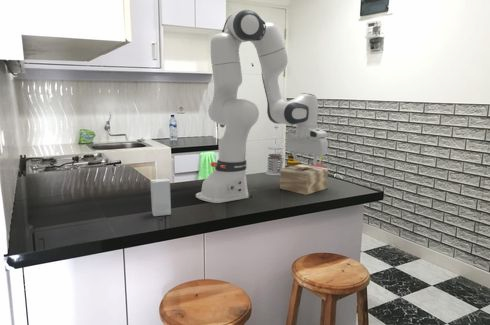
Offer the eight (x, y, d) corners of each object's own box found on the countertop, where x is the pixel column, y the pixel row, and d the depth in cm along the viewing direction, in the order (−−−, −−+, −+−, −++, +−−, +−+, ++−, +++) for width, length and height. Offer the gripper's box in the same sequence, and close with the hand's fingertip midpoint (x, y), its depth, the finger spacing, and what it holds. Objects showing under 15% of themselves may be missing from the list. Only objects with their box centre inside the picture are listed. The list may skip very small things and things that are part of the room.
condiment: (290, 181, 177) (291, 156, 175) (280, 177, 185) (281, 154, 182) (302, 180, 181) (304, 155, 178) (292, 176, 188) (293, 153, 186)
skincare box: (168, 211, 130) (168, 177, 127) (171, 215, 126) (170, 180, 123) (151, 213, 127) (150, 179, 125) (153, 217, 123) (152, 182, 121)
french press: (277, 170, 201) (279, 124, 196) (289, 175, 191) (291, 126, 186) (261, 172, 197) (263, 125, 192) (273, 176, 186) (274, 127, 182)
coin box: (305, 194, 154) (307, 173, 152) (279, 188, 164) (280, 168, 162) (326, 188, 165) (328, 168, 164) (301, 182, 175) (302, 164, 173)
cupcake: (320, 174, 193) (321, 152, 191) (328, 178, 185) (330, 154, 183) (305, 175, 190) (306, 152, 188) (313, 179, 182) (314, 155, 180)
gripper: (283, 129, 165) (281, 160, 167) (322, 134, 151) (320, 167, 153) (291, 129, 169) (290, 158, 172) (330, 133, 155) (328, 165, 158)
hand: (304, 162), depth 162 cm, fingers open, 8 cm apart
